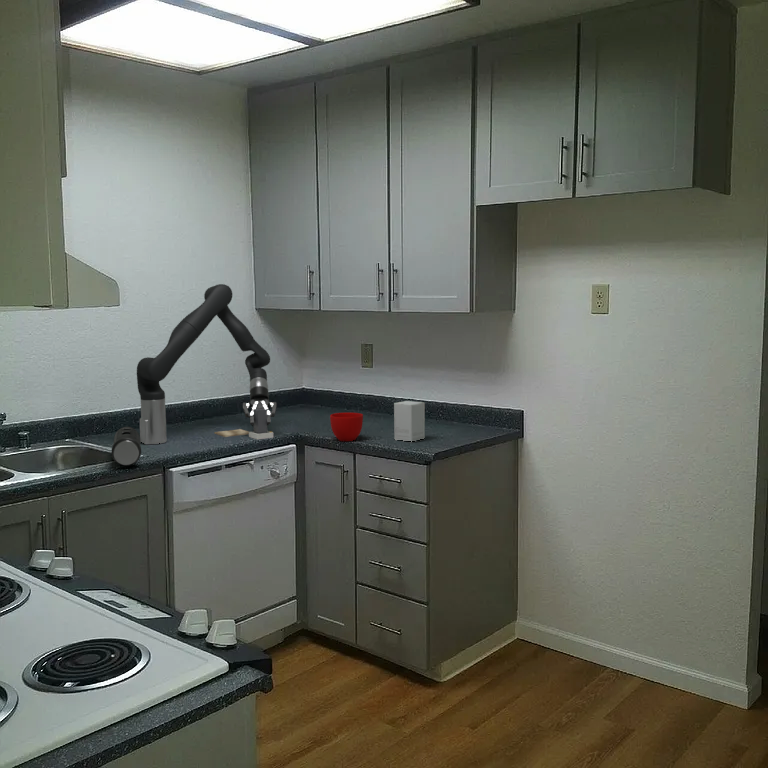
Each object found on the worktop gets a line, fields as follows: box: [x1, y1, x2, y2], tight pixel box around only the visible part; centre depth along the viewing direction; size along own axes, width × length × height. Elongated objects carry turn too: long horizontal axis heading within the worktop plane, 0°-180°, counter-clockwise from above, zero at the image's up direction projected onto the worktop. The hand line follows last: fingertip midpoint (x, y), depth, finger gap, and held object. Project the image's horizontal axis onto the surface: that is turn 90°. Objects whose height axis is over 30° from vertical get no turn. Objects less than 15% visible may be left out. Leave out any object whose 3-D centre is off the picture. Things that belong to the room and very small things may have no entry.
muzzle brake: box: [111, 426, 142, 467], centre depth 285 cm, size 10×28×10 cm, turn 17°
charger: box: [253, 408, 268, 434], centre depth 327 cm, size 4×4×10 cm
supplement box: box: [393, 400, 426, 443], centre depth 322 cm, size 9×9×15 cm
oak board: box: [213, 428, 250, 438], centre depth 336 cm, size 12×10×1 cm
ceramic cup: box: [329, 412, 364, 442], centre depth 325 cm, size 13×17×10 cm
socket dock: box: [248, 430, 274, 440], centre depth 328 cm, size 7×7×3 cm
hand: (260, 424), depth 325 cm, fingers closed on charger, 5 cm apart
